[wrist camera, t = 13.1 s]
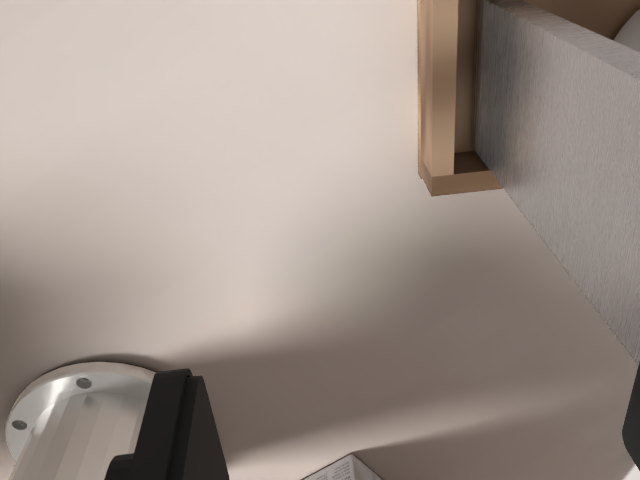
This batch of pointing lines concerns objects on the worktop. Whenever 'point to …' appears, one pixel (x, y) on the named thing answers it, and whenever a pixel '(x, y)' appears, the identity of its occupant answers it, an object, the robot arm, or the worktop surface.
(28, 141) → the worktop surface
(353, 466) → the coffee box
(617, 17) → the wooden tray
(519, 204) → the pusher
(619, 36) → the can
